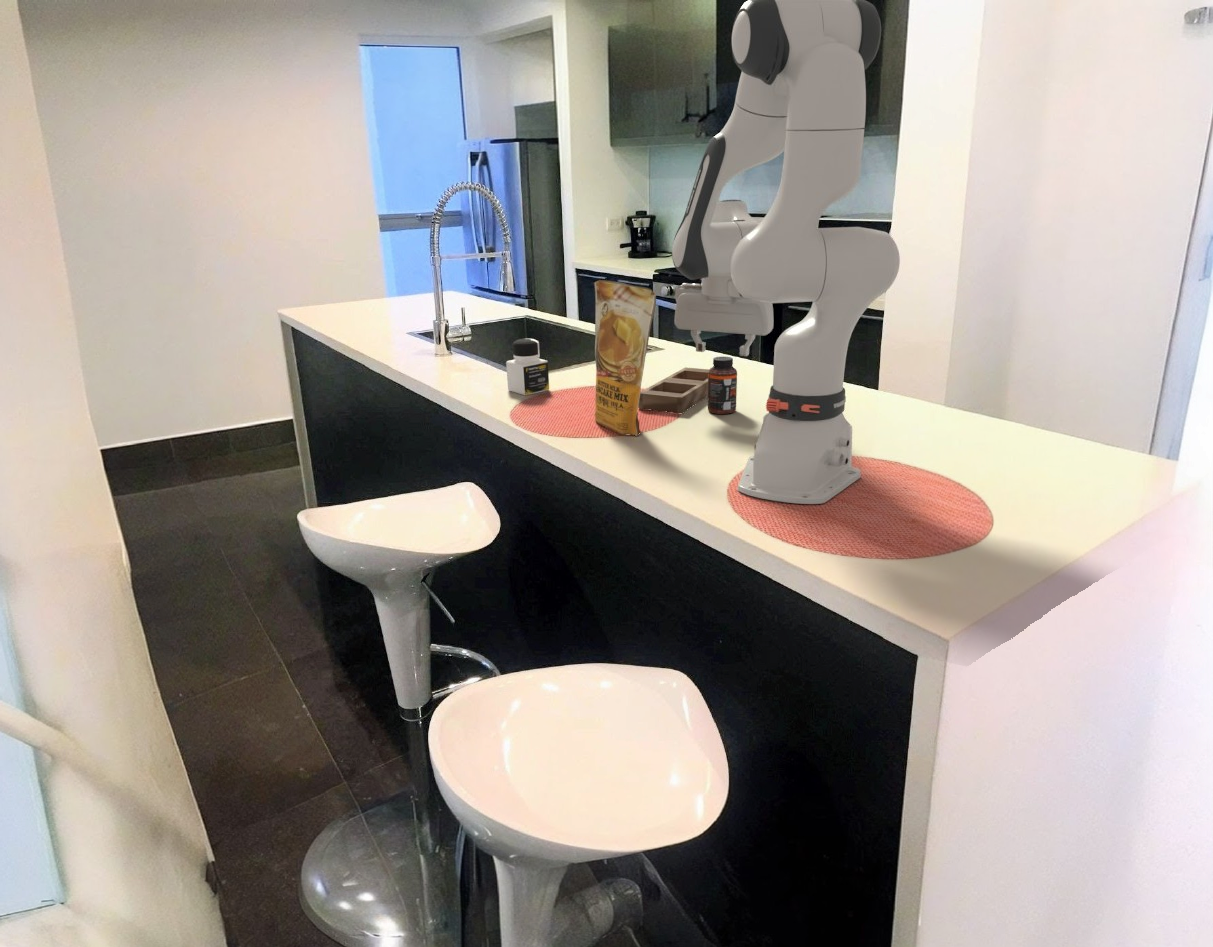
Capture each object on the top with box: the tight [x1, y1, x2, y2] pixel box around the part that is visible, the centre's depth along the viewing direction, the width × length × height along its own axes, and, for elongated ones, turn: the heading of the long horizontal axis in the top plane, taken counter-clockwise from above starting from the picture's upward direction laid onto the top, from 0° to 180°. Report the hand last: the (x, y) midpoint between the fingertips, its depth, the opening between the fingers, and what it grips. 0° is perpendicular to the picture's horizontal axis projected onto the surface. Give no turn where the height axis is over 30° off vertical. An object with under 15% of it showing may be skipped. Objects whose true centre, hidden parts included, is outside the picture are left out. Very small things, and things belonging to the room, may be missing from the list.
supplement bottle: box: [707, 356, 738, 415], centre depth 172 cm, size 6×6×11 cm
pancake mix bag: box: [593, 279, 657, 437], centre depth 162 cm, size 7×19×28 cm, turn 29°
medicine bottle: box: [505, 338, 550, 396], centre depth 194 cm, size 7×7×12 cm
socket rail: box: [638, 367, 710, 414], centre depth 186 cm, size 26×10×4 cm, turn 152°
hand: (722, 353), depth 171 cm, fingers open, 8 cm apart
